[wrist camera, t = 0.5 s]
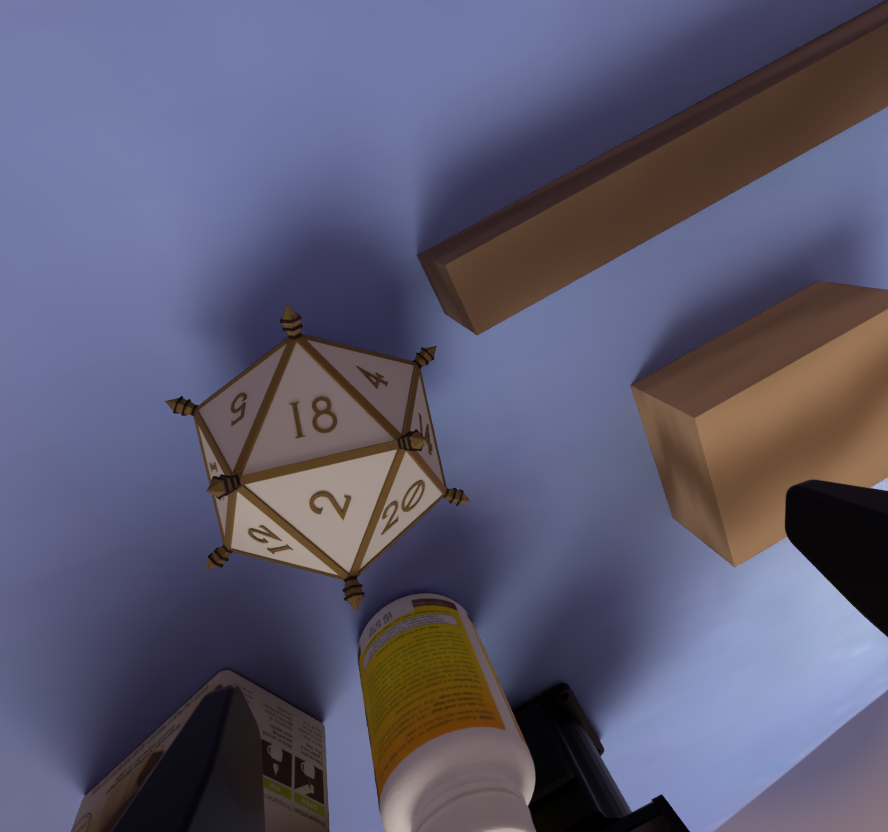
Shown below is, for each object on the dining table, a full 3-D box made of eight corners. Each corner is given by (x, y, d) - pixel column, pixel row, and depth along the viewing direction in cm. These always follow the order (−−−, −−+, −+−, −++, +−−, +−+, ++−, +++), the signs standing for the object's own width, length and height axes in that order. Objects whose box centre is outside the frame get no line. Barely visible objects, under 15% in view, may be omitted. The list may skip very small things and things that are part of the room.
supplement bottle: (330, 642, 25) (352, 902, 15) (424, 565, 24) (504, 780, 15) (405, 700, 27) (464, 956, 18) (492, 630, 27) (597, 851, 18)
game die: (335, 343, 24) (504, 270, 16) (378, 531, 24) (564, 543, 17) (101, 368, 18) (203, 272, 10) (162, 619, 18) (303, 699, 11)
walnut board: (917, 52, 22) (1040, 21, 18) (445, 313, 21) (477, 335, 17) (913, -15, 21) (1043, -62, 17) (417, 255, 20) (444, 265, 16)
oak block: (832, 420, 28) (923, 455, 24) (669, 514, 28) (734, 567, 24) (813, 280, 25) (915, 293, 21) (626, 383, 24) (694, 418, 20)
